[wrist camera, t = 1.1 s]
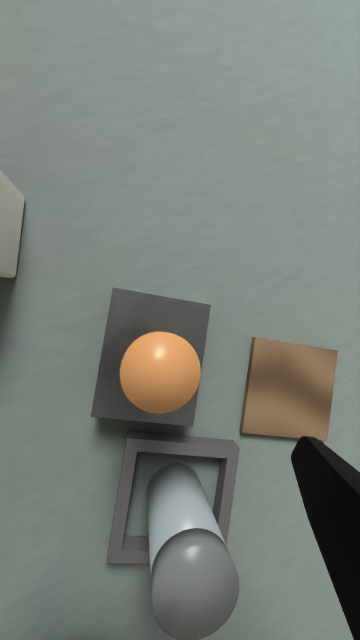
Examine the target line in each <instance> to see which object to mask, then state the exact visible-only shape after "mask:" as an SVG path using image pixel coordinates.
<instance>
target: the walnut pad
mask: <svg viewBox="0 0 360 640" xmlns="http://www.w3.org/2000/svg"><path fill="white" fill-rule="evenodd" d="M337 352H338V351H336V350H329V349H323V348H317V347H311V346H305V345H298V344H292V343H286V342H280V341H274V340H267V339H261V338H254V337H253V338H252V345H251V352H250V359H249V367H248V374H247V381H246V388H245V396H244V403H243V410H242V417H241V425H240V431H241V432H242V433H249V434H259V435H270V436H280V437H291V438H300V437H302V436H311V437H315V438H317V439H318V440H323V441H327V437H328V428H329V420H330V411H331V403H332V394H333V386H334V378H335V369H336V361H337Z"/></svg>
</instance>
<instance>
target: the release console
mask: <svg viewBox="0 0 360 640" xmlns="http://www.w3.org/2000/svg"><path fill="white" fill-rule="evenodd" d="M210 306H211V305H208V304H202V303H197V302H191V301H185V300H180V299H174V298H168V297H163V296H157V295H152V294H146V293H140V292H135V291H129V290H123V289H118V288H113V290H112V296H111V302H110V308H109V313H108V319H107V325H106V331H105V337H104V343H103V348H102V354H101V360H100V366H99V372H98V378H97V384H96V389H95V395H94V401H93V407H92V413H91V417H98V418H109V419H119V420H130V421H140V422H151V423H161V424H172V425H182V426H192V427H193V421H194V414H195V408H196V401H197V394H198V388H197V390H196V392H195V393H194V395H193V396H192V398H191V399H190V400H189V401H188V402H187V403H186V404H185V405H183V406H182V407H180V408H179V409H177V410H174V411H172V412H168V413H161V414H157V413H149V412H146V411H144V410H141V409H139V408H138V407H136V406H135V405H134V404H133V403H132V402H131V401H130V400H129V399H128V398H127V396H126V395H125V393H124V391H123V389H122V386H121V382H120V366H121V362H122V359H123V357H124V354H125V352H126V351H127V349H128V347H129V346H130V345H131V344H132V342H133V341H135V340H136V339H137V338H139V337H140V336H142V335H144V334H147V333H150V332H158V331H160V332H168V333H173V334H175V335H178V336H180V337H182V338H183V339H185V340H186V341H187V342H188V343H189V344H190V345H191V346H192V347H193V348H194V350H195V352H196V354H197V356H198V358H199V362H200V367H202V360H203V354H204V347H205V340H206V333H207V327H208V320H209V313H210ZM198 387H199V385H198Z"/></svg>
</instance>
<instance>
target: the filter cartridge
mask: <svg viewBox="0 0 360 640" xmlns="http://www.w3.org/2000/svg"><path fill="white" fill-rule="evenodd" d="M146 499H147V517H148V535H149V553H150V571H151V589H152V607H153V613H154V616H155V619H156V621H157V623H158V624H159V626H160V627H161V628H162V629H163V630H164V631H165V632H166V633H167V634H168V635H170V636H172V637H174V638H176V639H180V640H197V639H201V638H204V637H207V636H209V635H210V634H212V633H214V632H215V631H217V630H218V629H219V628H220V627H221V626H222V625H223V624H224V623H225V622H226V621H227V619H228V618H229V617H230V615H231V613H232V612H233V610H234V607H235V605H236V602H237V599H238V594H239V579H238V574H237V571H236V568H235V566H234V564H233V561H232V559H231V556H230V554H229V551H228V549H227V546H226V544H225V542H224V539H223V537H222V534H221V532H220V529H219V527H218V524H217V522H216V520H215V517H214V515H213V512H212V510H211V507H210V505H209V502H208V500H207V498H206V495H205V493H204V490H203V488H202V485H201V483H200V480H199V478H198V476H197V474H196V473H195V472H194V470H192V469H191V468H190V467H188V466H186V465H184V464H179V463H174V464H169V465H166V466H164V467H162V468H160V469H159V470H158V471H157V472H156V473H155V474H154V475H153V476H152V478H151V479H150V481H149V483H148V486H147V492H146Z"/></svg>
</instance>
